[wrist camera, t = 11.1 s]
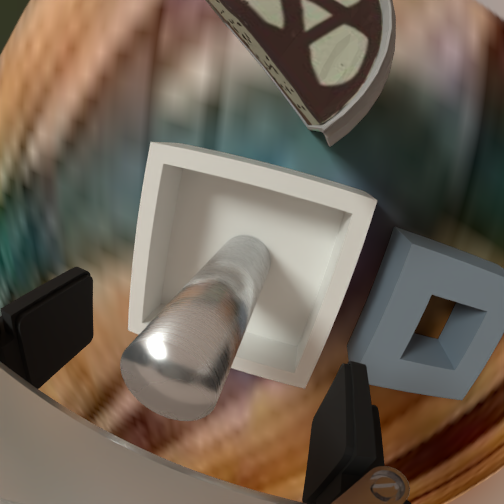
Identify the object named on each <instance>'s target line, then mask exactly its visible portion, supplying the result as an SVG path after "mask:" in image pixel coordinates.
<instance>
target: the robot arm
mask: <svg viewBox="0 0 504 504" xmlns="http://www.w3.org/2000/svg"><path fill="white" fill-rule="evenodd" d="M1 313H2V316H1V317H0V504H305V503H307V504H411V503H410V502H409V501H408V500H406V499H407V498H408V496H409V491H410V487H409V483H408V481H407V479H406V477H405V476H404V475H403V474H402V473H401V472H400V471H398V470H396V469H395V468H391V467H388V466H384V455H383V445H382V436H381V427H380V419H379V411H378V407H377V406H375V405H371V397H370V389H369V381H368V373H367V367H366V365H365V364H362V363H358V362H354V361H349V362H348V364H344V363H343V364H342V365H341V367H340V369H339V371H338V373H337V375H336V377H335V379H334V381H333V383H332V385H331V387H330V389H329V390H328V392H327V394H326V396H325V398H324V400H323V402H322V404H321V405H320V407H319V409H318V411H317V413H316V414H315V416H314V419H313V422H312V428H311V437H310V446H309V454H308V462H307V470H306V477H305V484H304V491H303V498H302V501H303V503H301V502H297V501H293V500H289V499H286V498H282V497H278V496H274V495H270V494H266V493H263V492H259V491H255V490H252V489H248V488H245V487H242V486H238V485H235V484H232V483H229V482H226V481H223V480H220V479H217V478H214V477H211V476H208V475H205V474H202V473H199V472H197V471H194V470H191V469H189V468H186V467H183V466H181V465H178V464H176V463H173V462H171V461H168V460H166V459H164V458H161V457H159V456H157V455H155V454H152V453H150V452H148V451H146V450H143V449H141V448H139V447H137V446H135V445H133V444H131V443H129V442H127V441H125V440H123V439H121V438H119V437H117V436H115V435H113V434H111V433H109V432H107V431H105V430H103V429H102V428H100V427H98V426H96V425H94V424H93V423H91V422H89V421H87V420H86V419H84V418H82V417H80V416H79V415H77V414H75V413H74V412H72V411H71V410H69V409H67V408H66V407H64V406H62V405H61V404H59V403H58V402H56V401H55V400H53V399H52V398H50V397H49V396H47V395H46V394H44V393H43V392H41V391H40V390H38V389H39V388H40V387H41V386H42V385H43V384H44V383H45V382H46V381H48V380H49V379H50V378H51V377H52V376H53V375H54V374H55V373H56V372H58V371H59V370H60V369H61V368H62V367H63V366H64V365H65V364H66V363H68V362H69V361H70V360H71V359H72V358H73V357H74V356H75V355H77V354H78V353H79V352H80V351H81V350H82V349H83V348H84V347H86V346H87V345H88V344H89V343H90V342H91V340H92V338H93V279H92V277H91V276H90V273H89V272H88V271H86V270H83V269H81V268H79V267H74V268H72V269H70V270H68V271H67V272H65V273H63V274H61V275H59V276H57V277H56V278H54V279H52V280H50V281H48V282H46V283H45V284H43V285H41V286H39V287H38V288H36V289H34V290H32V291H30V292H29V293H27V294H25V295H23V296H22V297H20V298H18V299H17V300H15V301H13V302H11V303H10V304H8V305H6V306H5V307H3V308H1Z"/></svg>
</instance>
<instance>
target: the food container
mask: <svg viewBox="0 0 504 504" xmlns="http://www.w3.org/2000/svg"><path fill="white" fill-rule="evenodd" d="M206 1H207V3H208V4H209V5H210V6H211V7H212V9H213V10H214V11H215V12H216V14H217V15H218V16H219V17H220V19H221V20H222V21H223V22H224V23H225V25H226V26H227V27H228V28H229V29H230V30H231V31H232V32H233V34H234V35H235V36H236V37H237V38H238V39H239V40H240V42H241V43H242V44H243V45H244V46H245V48H246V49H247V50H248V51H249V52H250V53H251V55H252V56H253V57H254V58H255V60H256V61H257V62H258V63H259V64H260V66H261V67H262V68H263V69H264V71H265V72H266V73H267V74H268V76H269V77H270V78H271V80H272V81H273V82H274V83H275V85H276V86H277V87H278V89H279V90H280V91H281V92H282V94H283V95H284V96H285V98H286V99H287V100H288V102H289V103H290V104H291V106H292V107H293V109H294V110H295V111H296V113H297V114H298V115H299V117H300V118H301V120H302V121H303V122H304V124H305V125H306V127H307V128H308V129H309V130H313V131H319V132H323V134H324V135H325V138H326V141H327V143H328V145H329V146H330V147H331V146H332V145H333V144H335V143H336V142H337V141H338V140H340V139H341V138H342V137H344V136H345V135H346V134H348V133H349V132H350V131H351V130H352V129H353V128H354V127H355V126H356V125H357V124H358V123H359V122H360V121H361V120H362V119H363V117H364V116H365V115H366V114H367V113H368V112H369V110H370V109H371V107H372V106H373V104H374V103H375V101H376V100H377V98H378V97H379V95H380V94H381V92H382V89H383V87H384V85H385V82H386V80H387V78H388V75H389V73H390V69H391V64H392V60H393V55H394V50H395V37H396V17H395V11H394V6H393V1H392V0H206Z"/></svg>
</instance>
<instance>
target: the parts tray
mask: <svg viewBox="0 0 504 504" xmlns="http://www.w3.org/2000/svg"><path fill="white" fill-rule="evenodd" d="M376 203H377V200H376V199H375V198H373V197H372V196H371V195H369V194H368V193H366V192H365V191H362V190H359V189H356V188H353V187H350V186H346V185H343V184H340V183H337V182H333V181H330V180H327V179H323V178H320V177H317V176H313V175H310V174H306V173H303V172H299V171H295V170H292V169H288V168H284V167H281V166H277V165H273V164H269V163H265V162H261V161H257V160H253V159H249V158H245V157H241V156H237V155H232V154H228V153H224V152H219V151H215V150H210V149H206V148H201V147H196V146H191V145H186V144H181V143H164V142H151V143H150V149H149V154H148V159H147V164H146V170H145V176H144V182H143V188H142V194H141V201H140V207H139V214H138V222H137V230H136V238H135V246H134V255H133V265H132V276H131V288H130V301H129V318H128V330H129V331H131V332H134V333H136V334H140V333H141V332H142V331H143V330H144V329H145V328H146V327H147V325H148V324H149V323H150V322H151V321H152V320H153V319H154V318H155V317H156V316H157V315H158V314H159V313H160V311H161V310H162V309H163V308H164V307H165V306H166V305H167V304H168V303H169V302H170V301H171V300H172V299H173V298H174V297H175V296H176V294H177V293H178V292H179V291H180V290H181V289H182V288H183V287H184V286H185V285H186V284H187V283H188V282H189V281H190V280H191V279H192V278H193V277H194V275H195V274H196V273H197V272H198V271H199V270H200V269H201V268H202V267H203V266H204V265H205V264H206V263H207V262H208V261H209V260H210V259H211V258H212V257H213V256H214V255H215V254H216V252H217V251H218V250H219V249H220V248H221V247H222V246H223V245H224V244H225V243H226V242H227V241H228V240H229V239H231V238H233V237H235V236H238V235H250V236H254V237H256V238H258V239H259V240H261V241H262V242H263V243H264V244H265V245H266V247H267V248H268V250H269V252H270V256H271V266H270V269H269V272H268V275H267V277H266V280H265V282H264V285H263V288H262V290H261V293H260V295H259V298H258V300H257V303H256V306H255V308H254V311H253V313H252V316H251V318H250V321H249V323H248V326H247V328H246V331H245V334H244V336H243V339H242V341H241V344H240V346H239V349H238V351H237V354H236V356H235V359H234V361H233V364H232V366H231V368H233V369H236V370H240V371H243V372H246V373H249V374H253V375H256V376H260V377H263V378H267V379H270V380H274V381H277V382H281V383H285V384H288V385H292V386H296V387H300V388H304V389H305V387H306V385H307V383H308V381H309V379H310V377H311V375H312V372H313V370H314V368H315V366H316V363H317V361H318V359H319V357H320V354H321V352H322V350H323V347H324V345H325V343H326V340H327V338H328V336H329V333H330V331H331V329H332V326H333V324H334V321H335V319H336V316H337V314H338V311H339V309H340V306H341V304H342V301H343V299H344V296H345V293H346V291H347V288H348V285H349V283H350V280H351V277H352V275H353V272H354V269H355V266H356V264H357V261H358V258H359V255H360V252H361V249H362V247H363V244H364V241H365V238H366V235H367V232H368V229H369V226H370V223H371V219H372V216H373V213H374V210H375V207H376Z"/></svg>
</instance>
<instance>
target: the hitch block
mask: <svg viewBox="0 0 504 504" xmlns="http://www.w3.org/2000/svg"><path fill="white" fill-rule="evenodd" d="M431 295H435V296H438V297H441V298H445V299H448V300H451V301H455V302H456V304H455V306H454V308H453V310H452V312H451V315H450V317H449V319H448V321H447V323H446V325H445V327H444V329H443V331H442V332H441V334H440V336H439V338H438V339H435V338H431V337H427V336H423V335H419V334H415V333H414V331H415V329H416V327H417V325H418V323H419V321H420V319H421V317H422V315H423V313H424V311H425V308H426V306H427V304H428V302H429V300H430V297H431ZM503 333H504V269H503V268H502V267H500V266H499V265H497V264H495V263H492V262H490V261H487V260H485V259H482V258H479V257H477V256H474V255H472V254H469V253H467V252H464V251H461V250H459V249H456V248H453V247H451V246H448V245H445V244H443V243H440V242H437V241H434V240H432V239H429V238H426V237H423V236H420V235H418V234H415V233H412V232H409V231H406V230H403V229H400V228H397V227H394V229H393V232H392V234H391V237H390V240H389V243H388V246H387V249H386V252H385V254H384V257H383V260H382V262H381V265H380V268H379V270H378V273H377V276H376V278H375V281H374V283H373V286H372V288H371V291H370V293H369V296H368V298H367V301H366V303H365V306H364V308H363V310H362V313H361V315H360V317H359V320H358V322H357V324H356V327H355V329H354V331H353V333H352V336H351V338H350V340H349V342H348V344H347V350H348V358H349V361H354V362H358V363H362V364H365V365H366V367H367V373H368V381H369V384H370V385H374V386H379V387H384V388H390V389H395V390H400V391H406V392H411V393H417V394H423V395H429V396H436V397H442V398H449V399H457V400H463V398H464V397H465V395H466V394H467V392H468V391H469V389H470V388H471V387H472V385H473V384H474V382H475V380H476V379H477V377H478V376H479V374H480V373H481V371H482V369H483V368H484V366H485V365H486V363H487V361H488V360H489V358H490V356H491V355H492V353H493V351H494V349H495V348H496V346H497V344H498V342H499V340H500V339H501V337H502V335H503Z"/></svg>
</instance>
